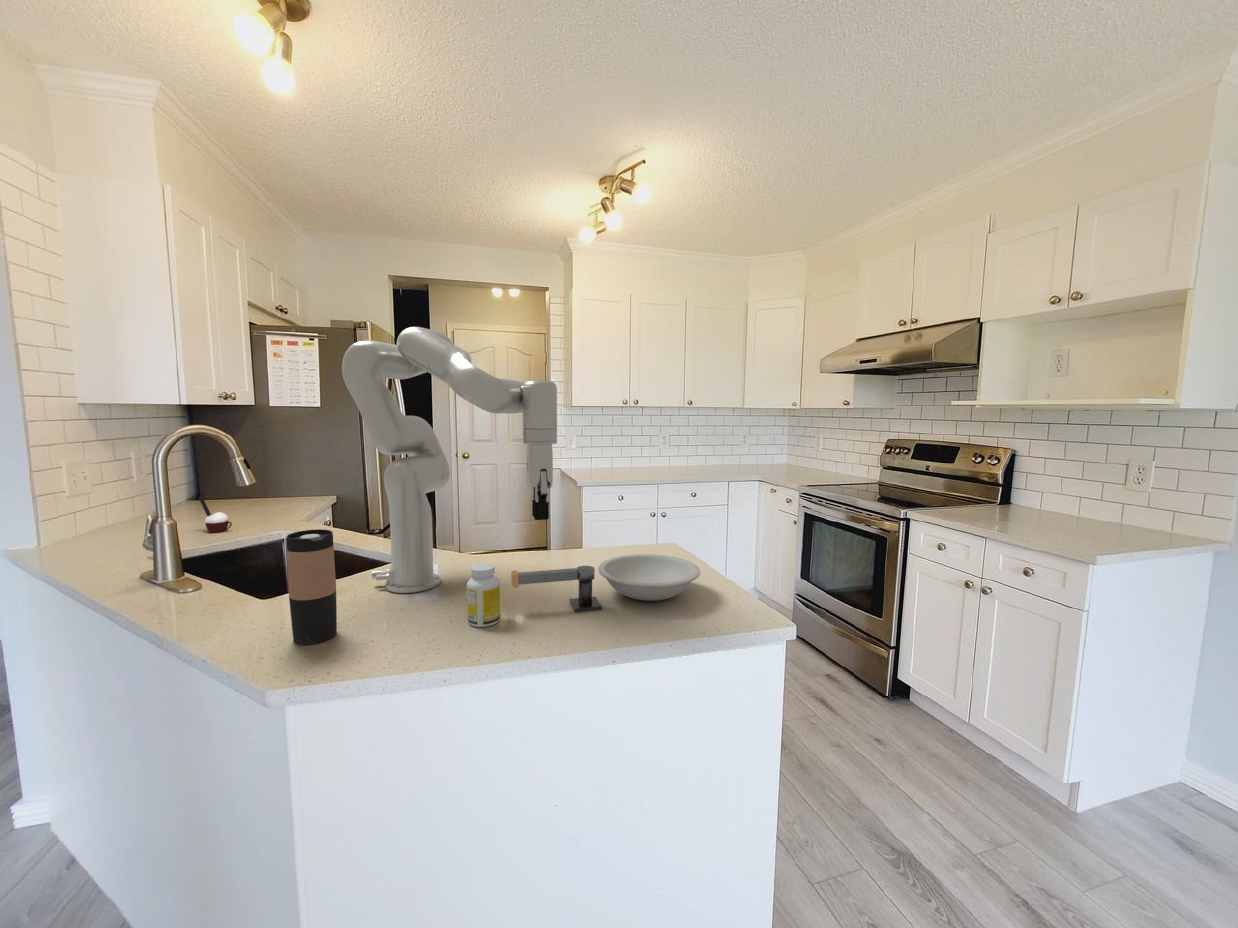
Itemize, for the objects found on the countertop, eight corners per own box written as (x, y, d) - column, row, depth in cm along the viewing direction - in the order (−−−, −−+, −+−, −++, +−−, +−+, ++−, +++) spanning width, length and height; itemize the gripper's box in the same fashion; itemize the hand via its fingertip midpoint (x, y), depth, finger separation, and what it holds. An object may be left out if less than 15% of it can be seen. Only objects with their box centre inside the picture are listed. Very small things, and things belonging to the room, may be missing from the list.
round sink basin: (719, 594, 123) (720, 568, 122) (655, 624, 105) (656, 593, 105) (642, 572, 139) (643, 548, 138) (576, 594, 122) (576, 567, 121)
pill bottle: (506, 618, 108) (505, 564, 106) (488, 630, 102) (487, 573, 100) (479, 613, 110) (478, 560, 109) (460, 625, 104) (459, 569, 102)
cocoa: (235, 531, 179) (235, 497, 178) (216, 535, 173) (216, 500, 172) (215, 528, 182) (215, 494, 181) (196, 531, 176) (196, 497, 175)
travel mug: (304, 628, 101) (299, 529, 99) (345, 627, 102) (340, 528, 100) (283, 646, 94) (276, 539, 92) (326, 645, 94) (321, 538, 92)
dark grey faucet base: (574, 612, 111) (574, 585, 110) (569, 602, 117) (569, 576, 116) (601, 609, 113) (601, 582, 112) (595, 599, 118) (595, 574, 118)
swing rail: (592, 575, 117) (592, 563, 116) (596, 581, 113) (596, 569, 112) (511, 582, 111) (511, 569, 111) (512, 588, 108) (512, 575, 107)
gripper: (519, 435, 121) (520, 511, 123) (527, 439, 106) (527, 527, 108) (551, 434, 123) (551, 510, 125) (563, 438, 108) (563, 525, 110)
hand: (540, 517), depth 116 cm, fingers open, 2 cm apart
